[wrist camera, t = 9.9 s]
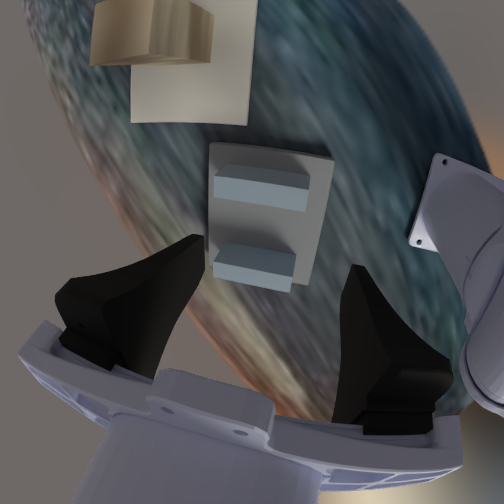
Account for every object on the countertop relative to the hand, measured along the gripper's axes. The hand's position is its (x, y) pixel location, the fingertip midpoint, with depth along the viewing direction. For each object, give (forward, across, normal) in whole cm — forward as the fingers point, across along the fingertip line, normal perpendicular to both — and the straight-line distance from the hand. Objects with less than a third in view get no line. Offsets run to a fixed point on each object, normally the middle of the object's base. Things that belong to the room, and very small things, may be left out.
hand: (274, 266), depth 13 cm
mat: (+9, +9, -12) cm, 18 cm away
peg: (+9, +9, -12) cm, 17 cm away
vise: (+9, +2, +2) cm, 10 cm away
